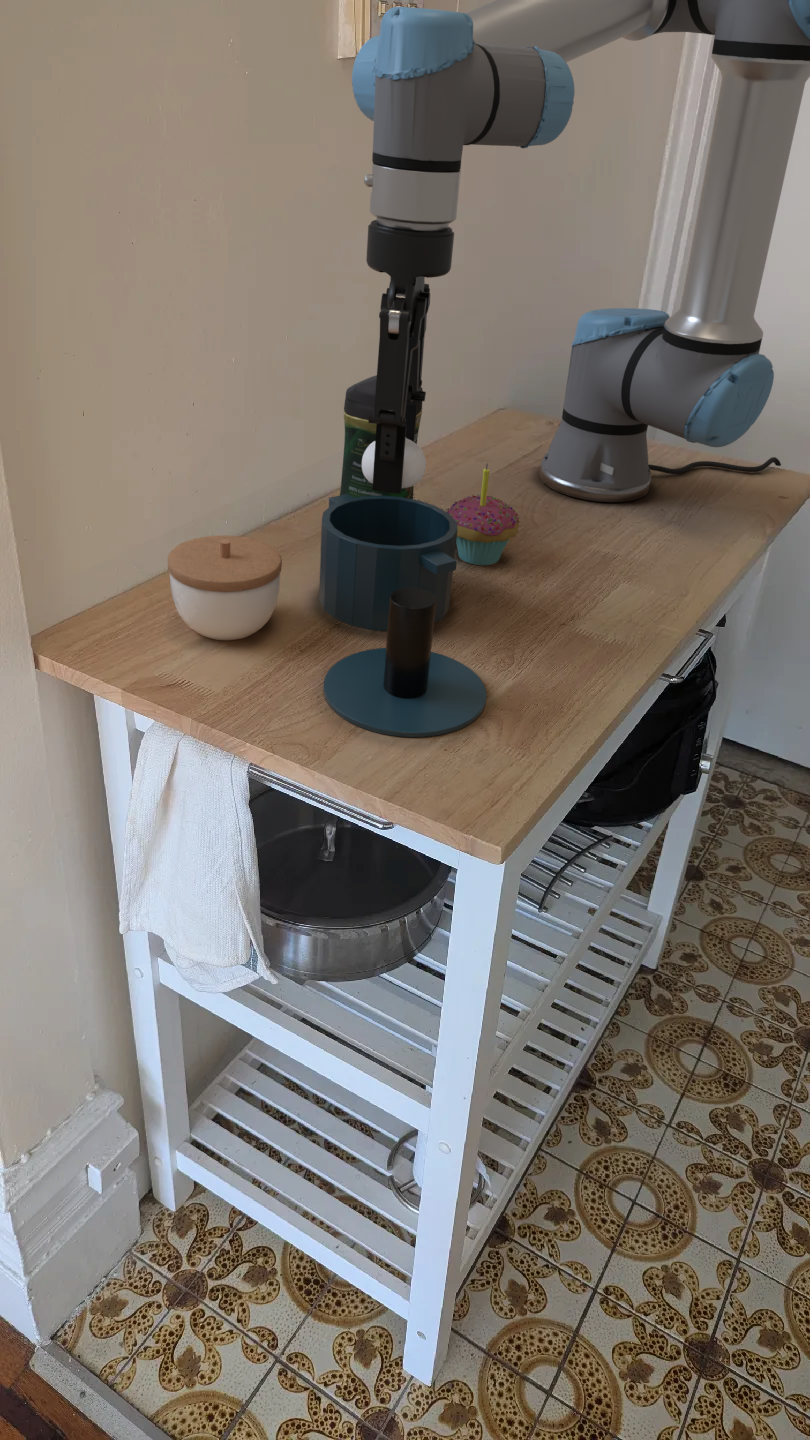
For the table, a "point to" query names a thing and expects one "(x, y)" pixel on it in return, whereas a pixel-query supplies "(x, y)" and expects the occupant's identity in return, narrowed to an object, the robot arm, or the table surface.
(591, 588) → the table surface
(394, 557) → the pot
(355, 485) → the coffee jar
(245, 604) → the trinket box
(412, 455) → the garlic bulb
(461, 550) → the cupcake
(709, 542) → the table surface
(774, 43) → the robot arm
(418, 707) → the lid
